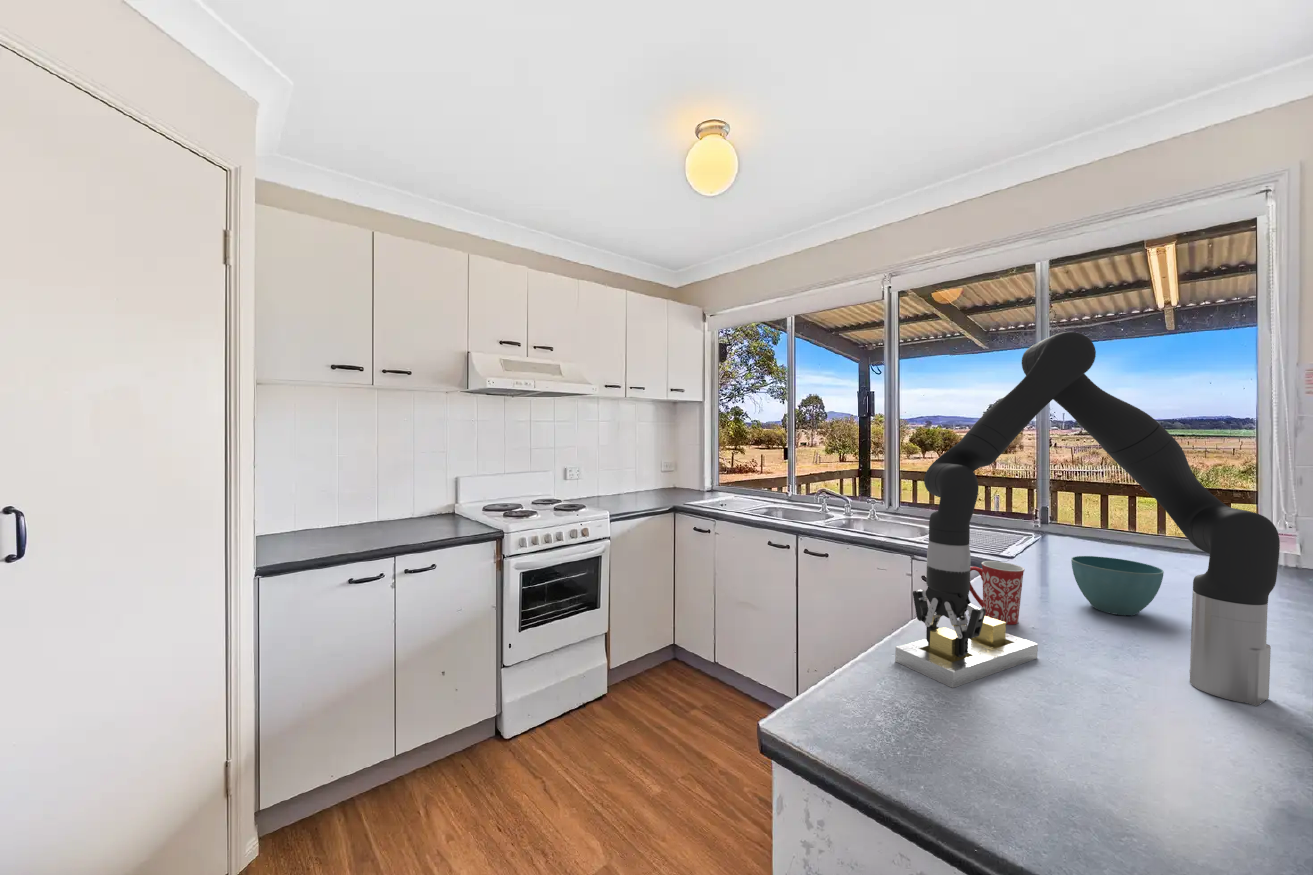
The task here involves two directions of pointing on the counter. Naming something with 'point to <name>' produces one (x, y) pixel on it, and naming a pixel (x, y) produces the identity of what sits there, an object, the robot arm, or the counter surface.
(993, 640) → the seated brass block
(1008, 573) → the mug
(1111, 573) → the teal bowl
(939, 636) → the brass block
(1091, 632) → the counter surface
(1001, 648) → the white socket board
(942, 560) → the robot arm
